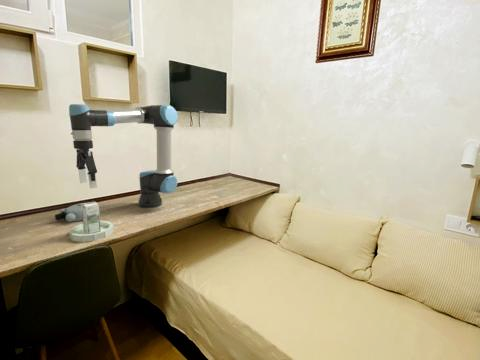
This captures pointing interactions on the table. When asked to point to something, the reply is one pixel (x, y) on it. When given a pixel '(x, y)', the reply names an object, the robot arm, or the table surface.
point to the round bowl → (81, 236)
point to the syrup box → (91, 217)
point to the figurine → (71, 213)
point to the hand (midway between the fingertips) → (88, 185)
